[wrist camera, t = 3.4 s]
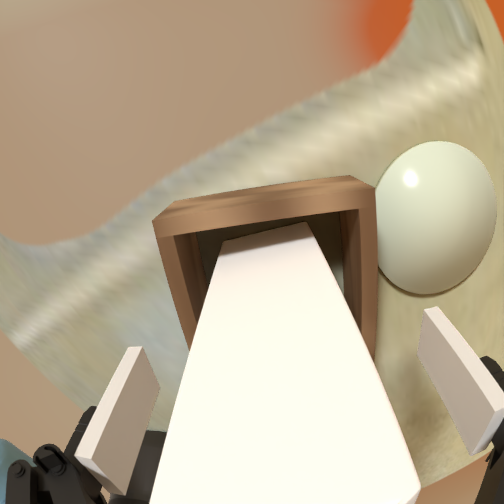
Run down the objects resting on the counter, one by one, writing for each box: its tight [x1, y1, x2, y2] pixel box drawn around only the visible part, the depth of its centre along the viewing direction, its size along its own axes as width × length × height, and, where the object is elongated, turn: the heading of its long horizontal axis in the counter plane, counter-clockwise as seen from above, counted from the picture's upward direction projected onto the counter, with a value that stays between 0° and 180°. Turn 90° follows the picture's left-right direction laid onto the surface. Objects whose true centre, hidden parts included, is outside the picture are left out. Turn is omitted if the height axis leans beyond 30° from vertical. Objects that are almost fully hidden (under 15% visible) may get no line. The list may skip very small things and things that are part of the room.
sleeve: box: [152, 175, 378, 362], centre depth 21 cm, size 12×12×5 cm
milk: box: [149, 222, 421, 504], centre depth 13 cm, size 6×6×22 cm
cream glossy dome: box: [375, 141, 497, 294], centre depth 21 cm, size 12×12×1 cm
